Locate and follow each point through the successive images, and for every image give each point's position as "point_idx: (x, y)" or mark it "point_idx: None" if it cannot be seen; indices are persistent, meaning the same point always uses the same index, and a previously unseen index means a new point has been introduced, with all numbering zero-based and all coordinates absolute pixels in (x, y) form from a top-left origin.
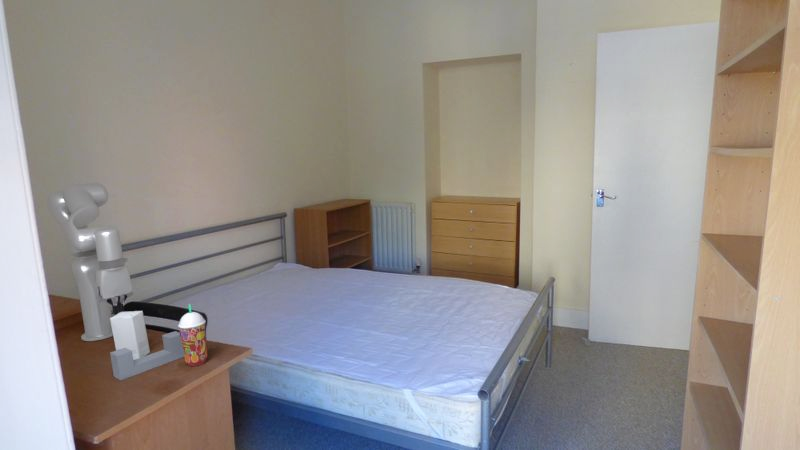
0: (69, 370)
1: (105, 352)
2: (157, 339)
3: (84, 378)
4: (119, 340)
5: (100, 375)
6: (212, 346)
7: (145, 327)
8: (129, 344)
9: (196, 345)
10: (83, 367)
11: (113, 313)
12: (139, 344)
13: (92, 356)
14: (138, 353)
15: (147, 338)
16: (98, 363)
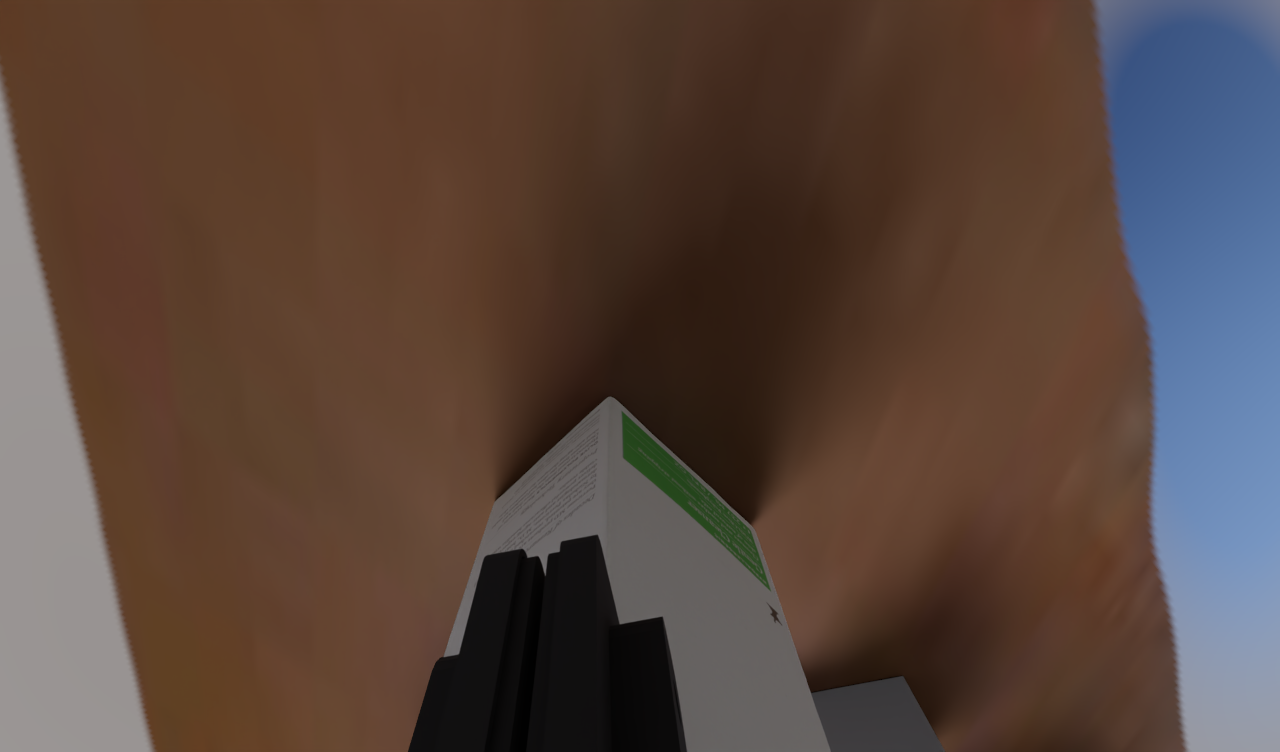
0: (79, 414)
1: (413, 165)
2: (946, 207)
3: (227, 666)
4: None
5: (341, 690)
6: (1119, 721)
7: (824, 735)
8: None
9: None
10: (203, 435)
11: (441, 664)
12: None
13: (277, 182)
14: None
15: (786, 625)
16: (333, 438)
